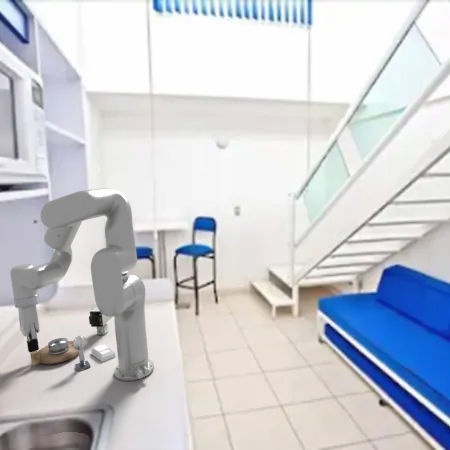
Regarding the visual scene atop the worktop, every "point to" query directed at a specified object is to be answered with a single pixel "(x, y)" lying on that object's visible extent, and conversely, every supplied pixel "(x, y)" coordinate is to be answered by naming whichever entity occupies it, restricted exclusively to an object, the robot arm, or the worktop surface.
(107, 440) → the worktop surface
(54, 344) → the cover
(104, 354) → the white switch plate
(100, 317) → the pneumatic valve
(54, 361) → the turntable
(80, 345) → the gauge post
